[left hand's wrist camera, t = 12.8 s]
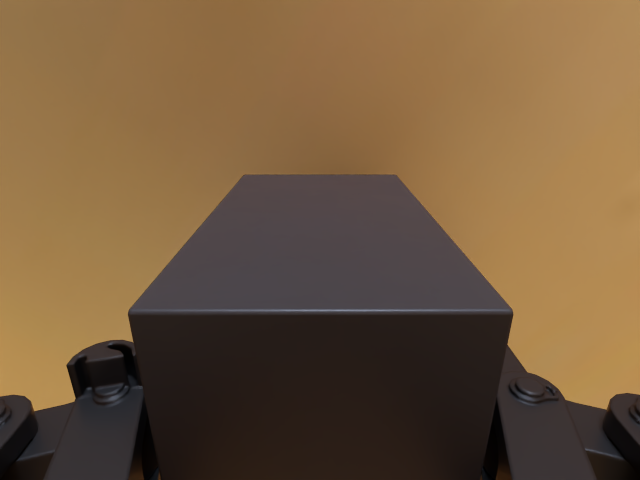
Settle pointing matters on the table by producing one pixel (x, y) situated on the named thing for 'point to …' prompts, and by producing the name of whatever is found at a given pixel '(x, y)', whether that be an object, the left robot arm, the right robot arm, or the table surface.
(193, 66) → the table surface
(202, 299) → the bar
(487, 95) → the table surface
